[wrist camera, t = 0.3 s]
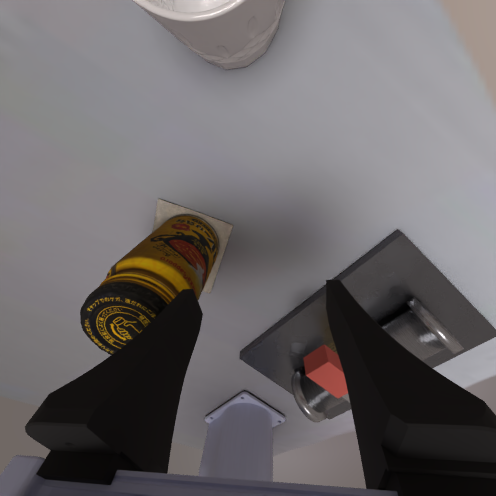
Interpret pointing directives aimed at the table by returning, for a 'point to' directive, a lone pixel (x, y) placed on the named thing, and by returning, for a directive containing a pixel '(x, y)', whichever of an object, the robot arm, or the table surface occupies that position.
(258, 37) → the white cup
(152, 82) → the table surface
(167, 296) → the condiment
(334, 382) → the valve lever
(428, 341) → the valve body
